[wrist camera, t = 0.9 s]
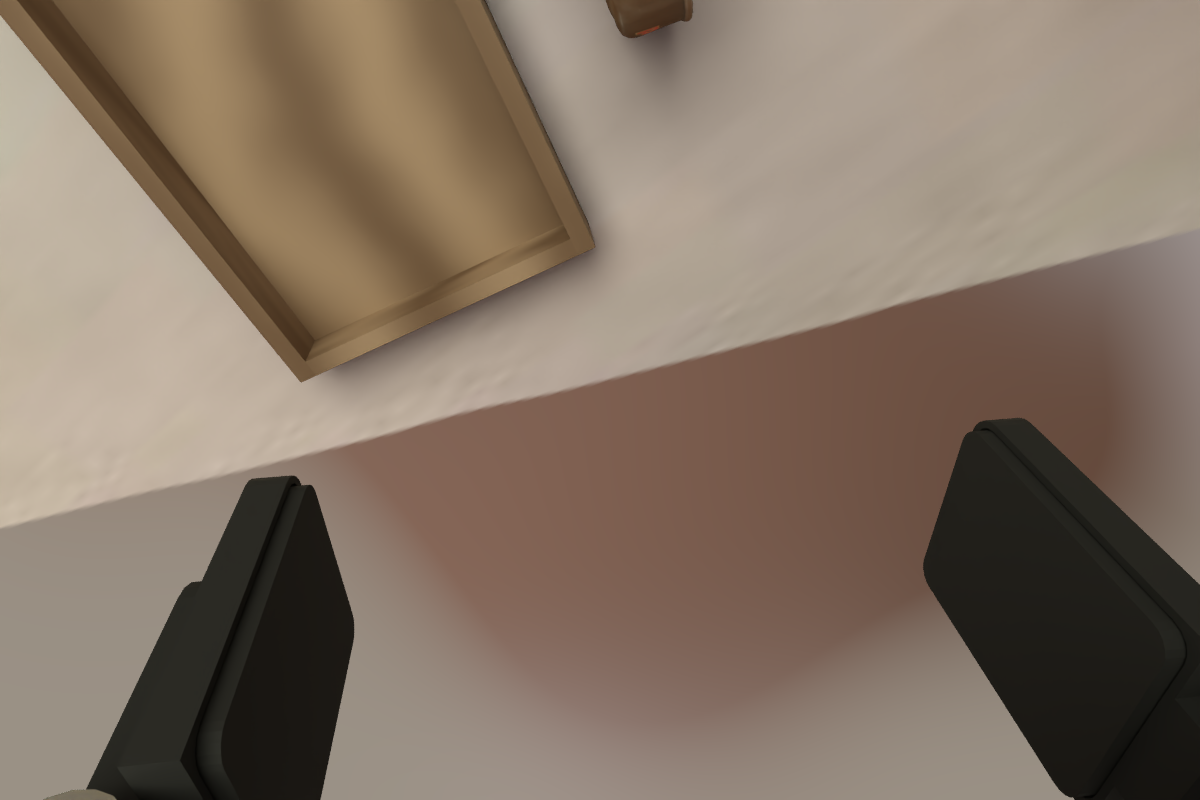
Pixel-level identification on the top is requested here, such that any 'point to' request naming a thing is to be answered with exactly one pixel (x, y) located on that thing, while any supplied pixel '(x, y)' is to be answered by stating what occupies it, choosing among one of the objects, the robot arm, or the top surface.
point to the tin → (648, 14)
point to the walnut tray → (322, 153)
